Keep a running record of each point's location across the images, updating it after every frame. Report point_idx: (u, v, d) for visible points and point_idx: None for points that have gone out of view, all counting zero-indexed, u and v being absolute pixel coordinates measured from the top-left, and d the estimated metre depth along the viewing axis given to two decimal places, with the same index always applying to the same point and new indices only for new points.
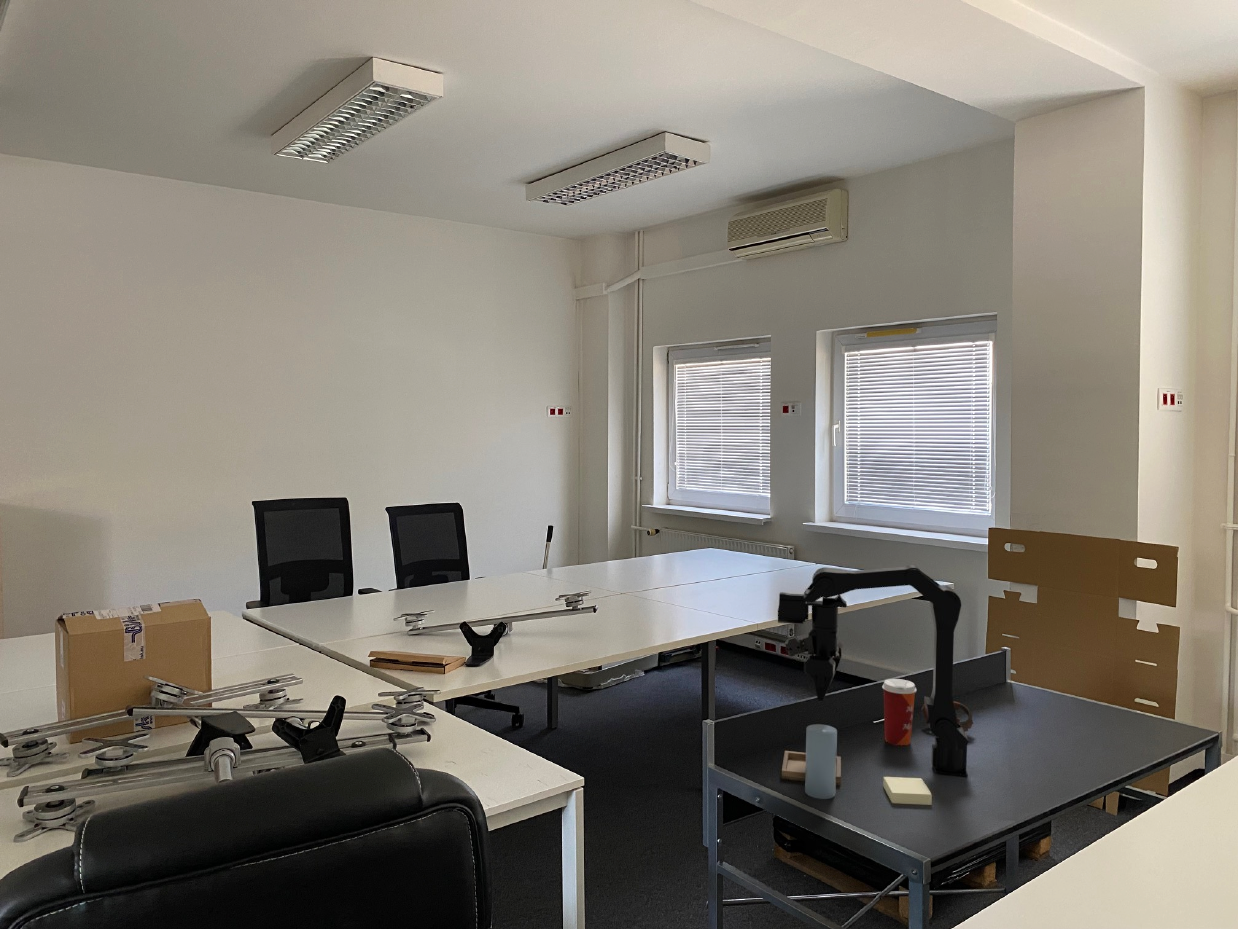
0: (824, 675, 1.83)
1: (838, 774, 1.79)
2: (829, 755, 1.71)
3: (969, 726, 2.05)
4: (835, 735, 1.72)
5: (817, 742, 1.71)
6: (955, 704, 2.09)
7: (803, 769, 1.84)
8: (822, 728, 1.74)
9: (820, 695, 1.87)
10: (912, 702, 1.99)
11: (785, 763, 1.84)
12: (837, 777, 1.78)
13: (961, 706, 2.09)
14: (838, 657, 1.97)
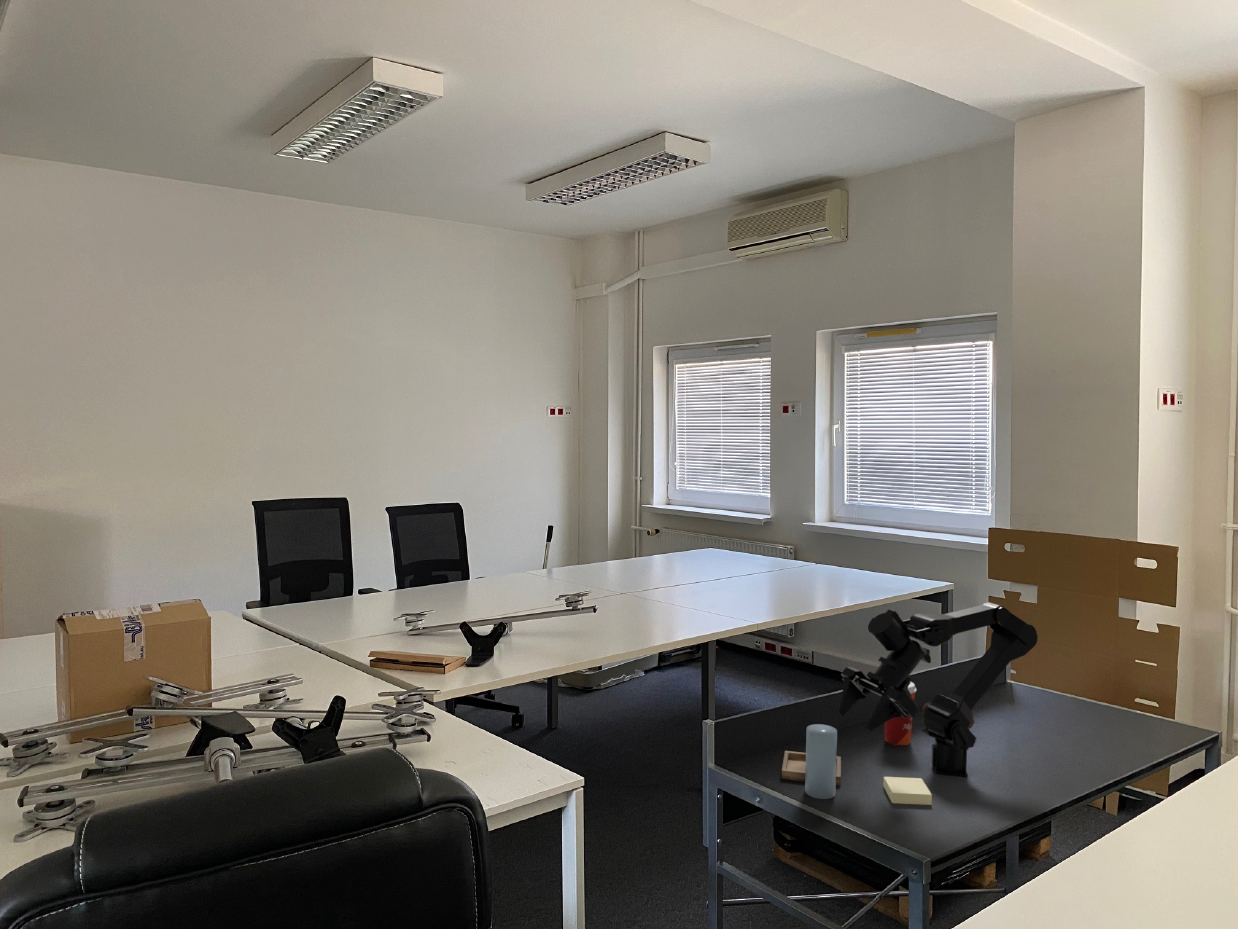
0: None
1: (838, 774, 1.79)
2: (830, 755, 1.71)
3: (970, 725, 2.06)
4: (835, 735, 1.72)
5: (817, 742, 1.71)
6: None
7: (803, 769, 1.84)
8: (822, 728, 1.74)
9: None
10: None
11: (785, 763, 1.84)
12: (837, 777, 1.78)
13: None
14: None
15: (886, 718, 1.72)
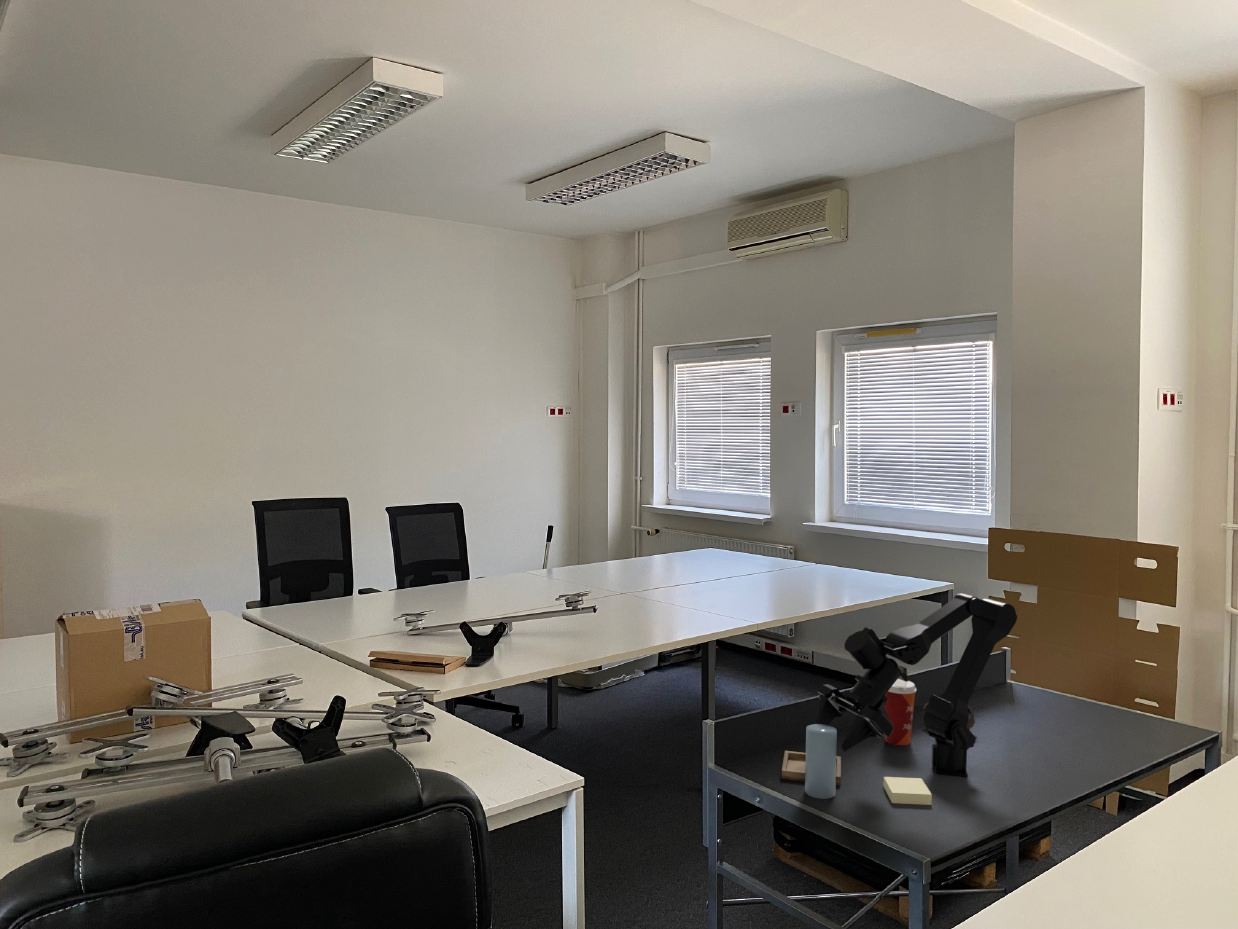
0: None
1: (838, 774, 1.79)
2: (829, 754, 1.71)
3: (971, 725, 2.06)
4: (835, 735, 1.72)
5: (816, 741, 1.71)
6: None
7: (803, 769, 1.84)
8: (821, 727, 1.74)
9: None
10: (912, 702, 1.99)
11: (785, 763, 1.84)
12: (837, 777, 1.78)
13: None
14: None
15: (861, 738, 1.70)
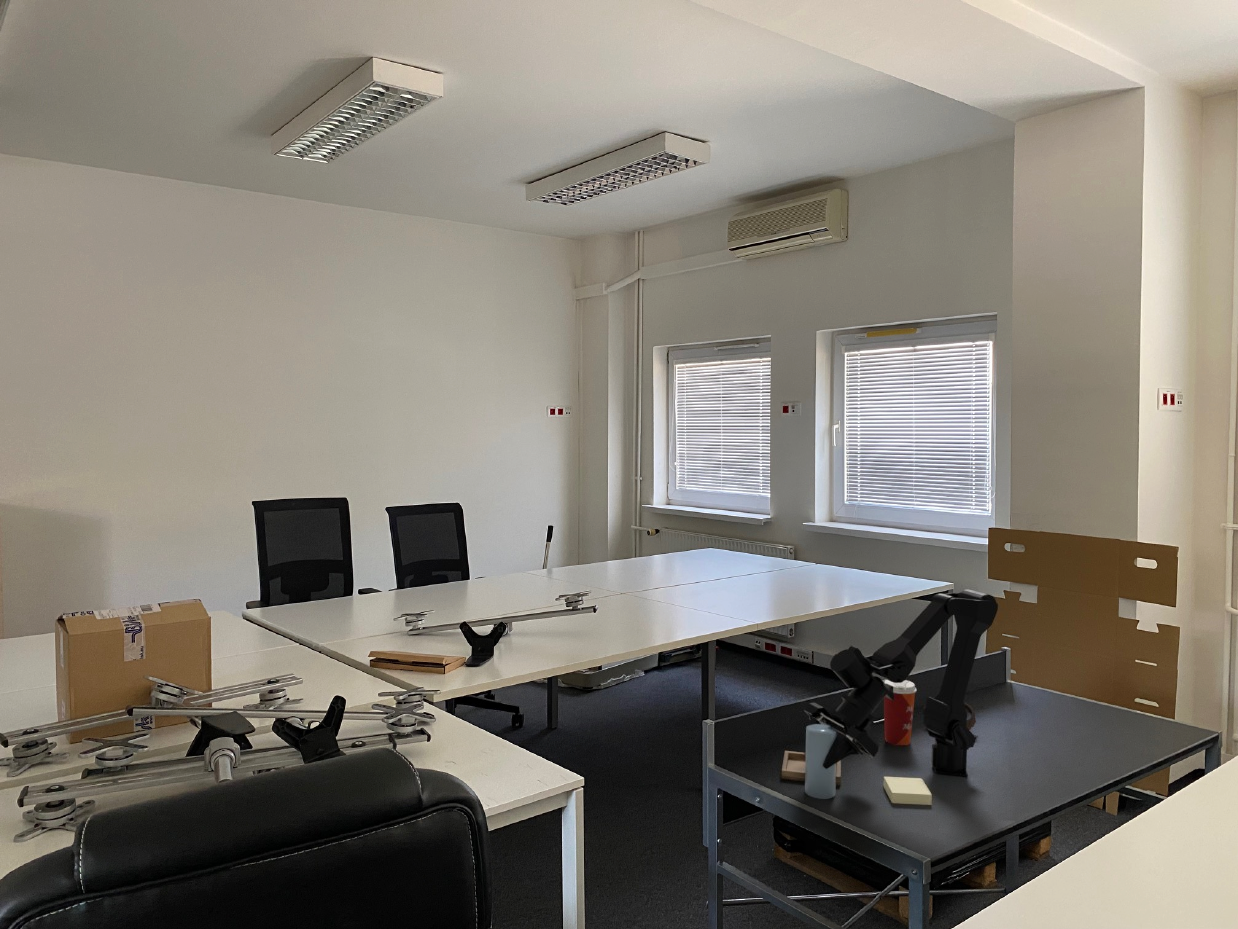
0: None
1: (838, 774, 1.79)
2: None
3: (972, 724, 2.06)
4: (835, 735, 1.72)
5: (816, 742, 1.71)
6: None
7: (803, 769, 1.84)
8: (821, 728, 1.74)
9: None
10: (912, 702, 1.99)
11: (785, 763, 1.84)
12: (837, 777, 1.78)
13: None
14: (845, 736, 1.69)
15: (843, 755, 1.70)
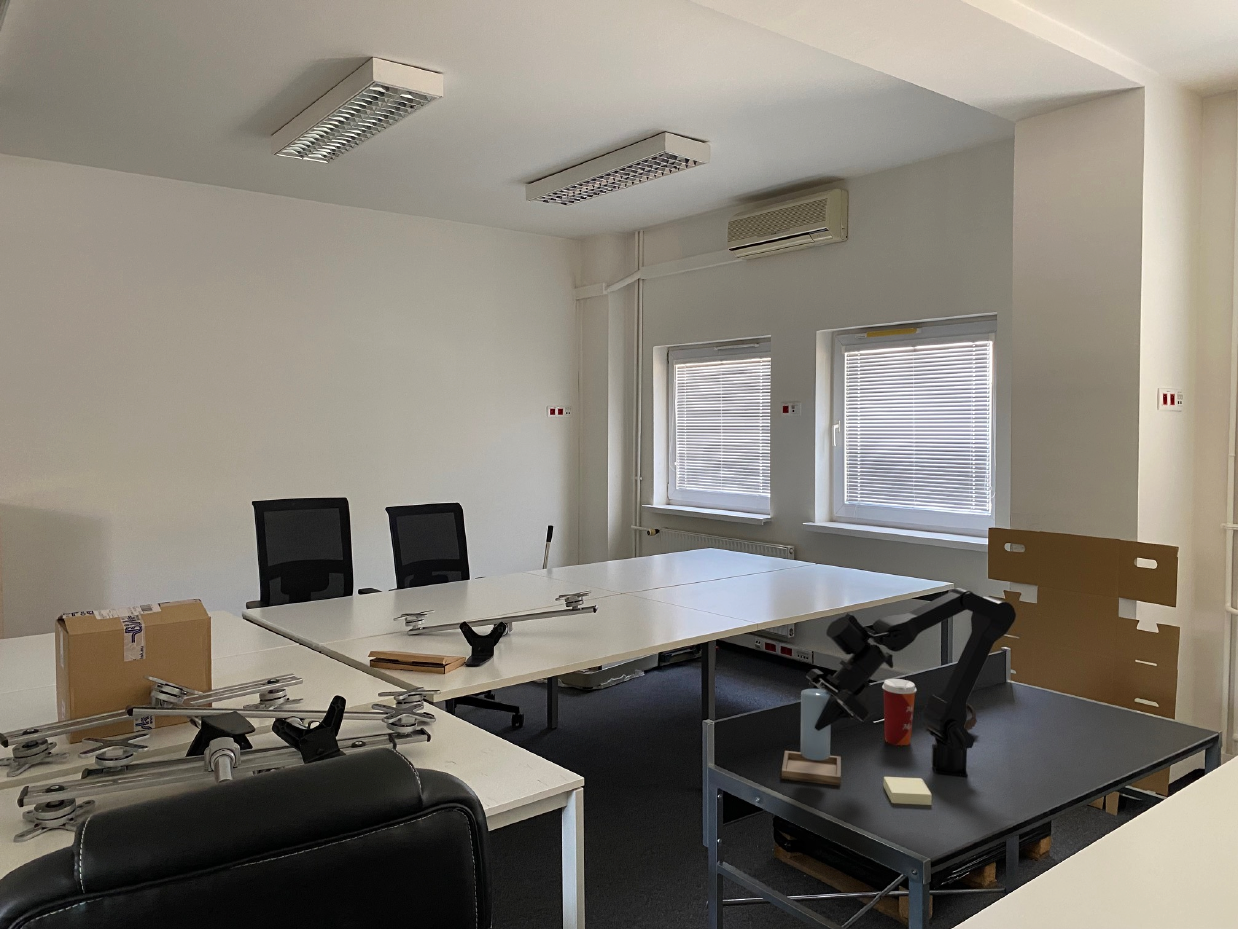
0: None
1: (838, 774, 1.79)
2: None
3: (973, 724, 2.07)
4: None
5: (809, 704, 1.76)
6: None
7: (803, 769, 1.84)
8: (817, 692, 1.79)
9: None
10: (912, 702, 1.99)
11: (785, 763, 1.84)
12: (837, 777, 1.78)
13: None
14: (836, 700, 1.74)
15: (834, 718, 1.75)
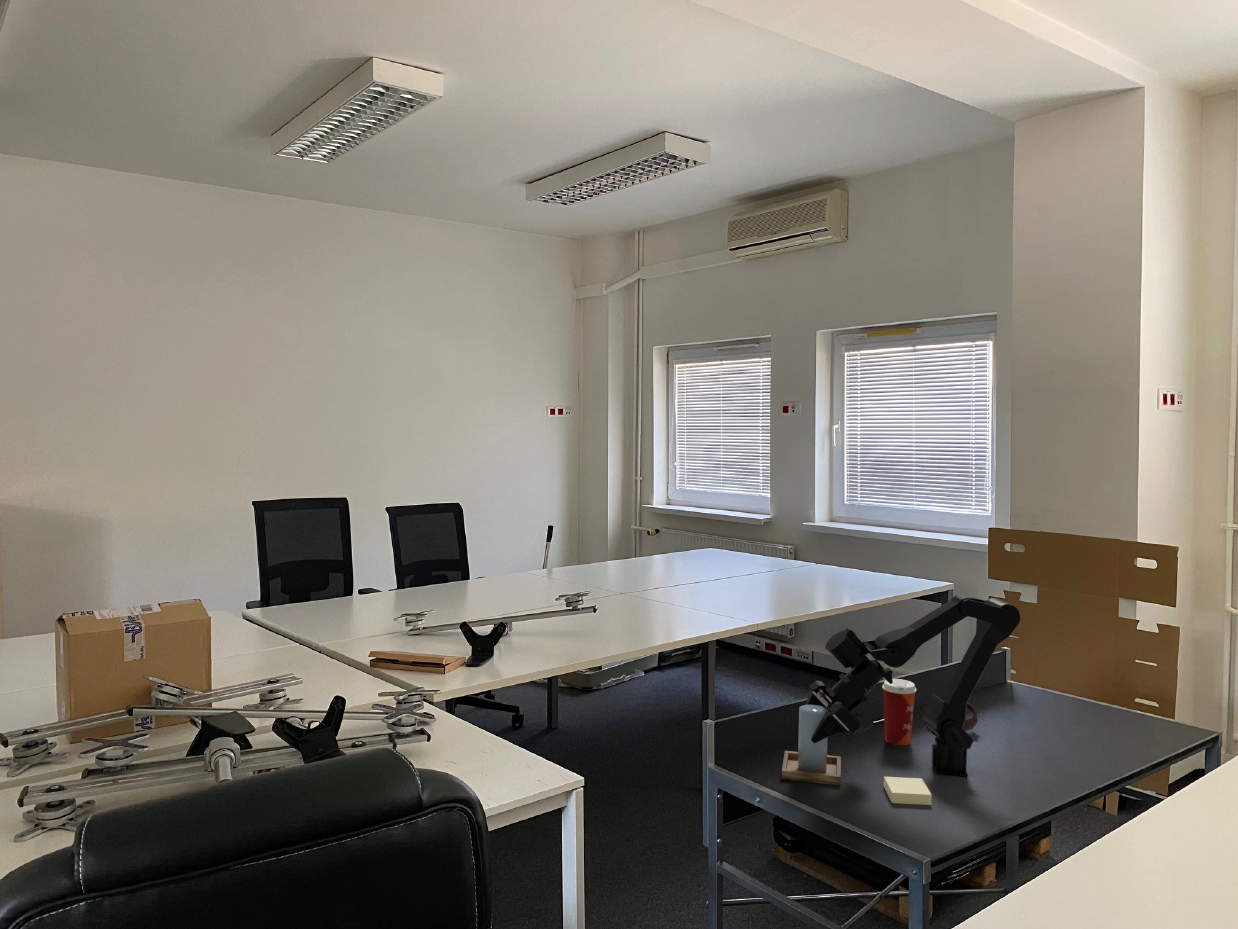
0: None
1: (838, 774, 1.79)
2: None
3: (974, 723, 2.07)
4: None
5: (805, 719, 1.82)
6: None
7: None
8: (815, 708, 1.84)
9: None
10: (912, 702, 1.99)
11: (785, 763, 1.84)
12: (837, 777, 1.78)
13: None
14: (831, 714, 1.77)
15: (830, 732, 1.78)
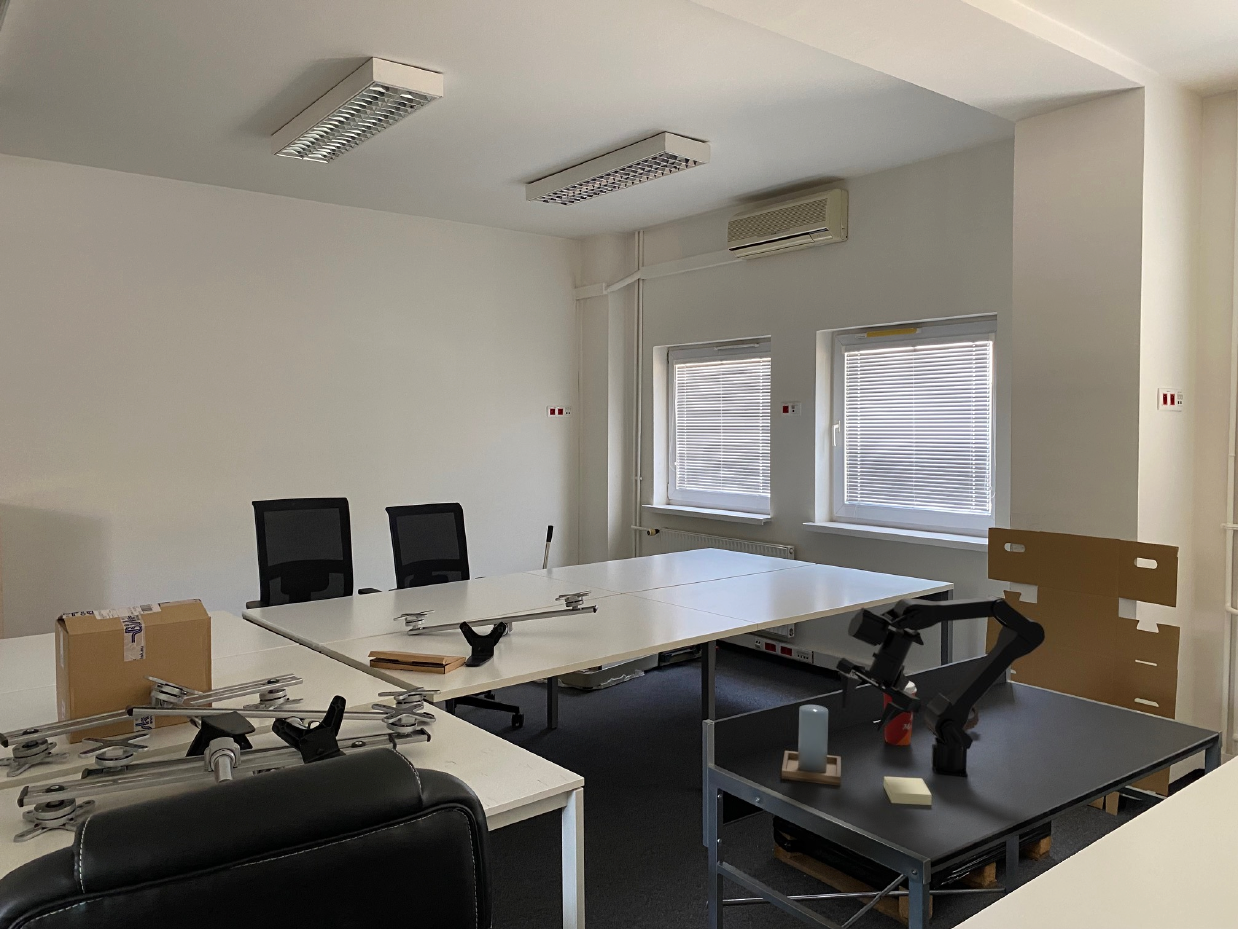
0: None
1: (838, 774, 1.79)
2: (817, 733, 1.81)
3: (975, 723, 2.08)
4: (824, 715, 1.81)
5: (805, 719, 1.82)
6: None
7: None
8: (815, 708, 1.84)
9: None
10: None
11: (785, 763, 1.84)
12: (837, 777, 1.78)
13: None
14: (895, 706, 1.78)
15: (893, 717, 1.81)
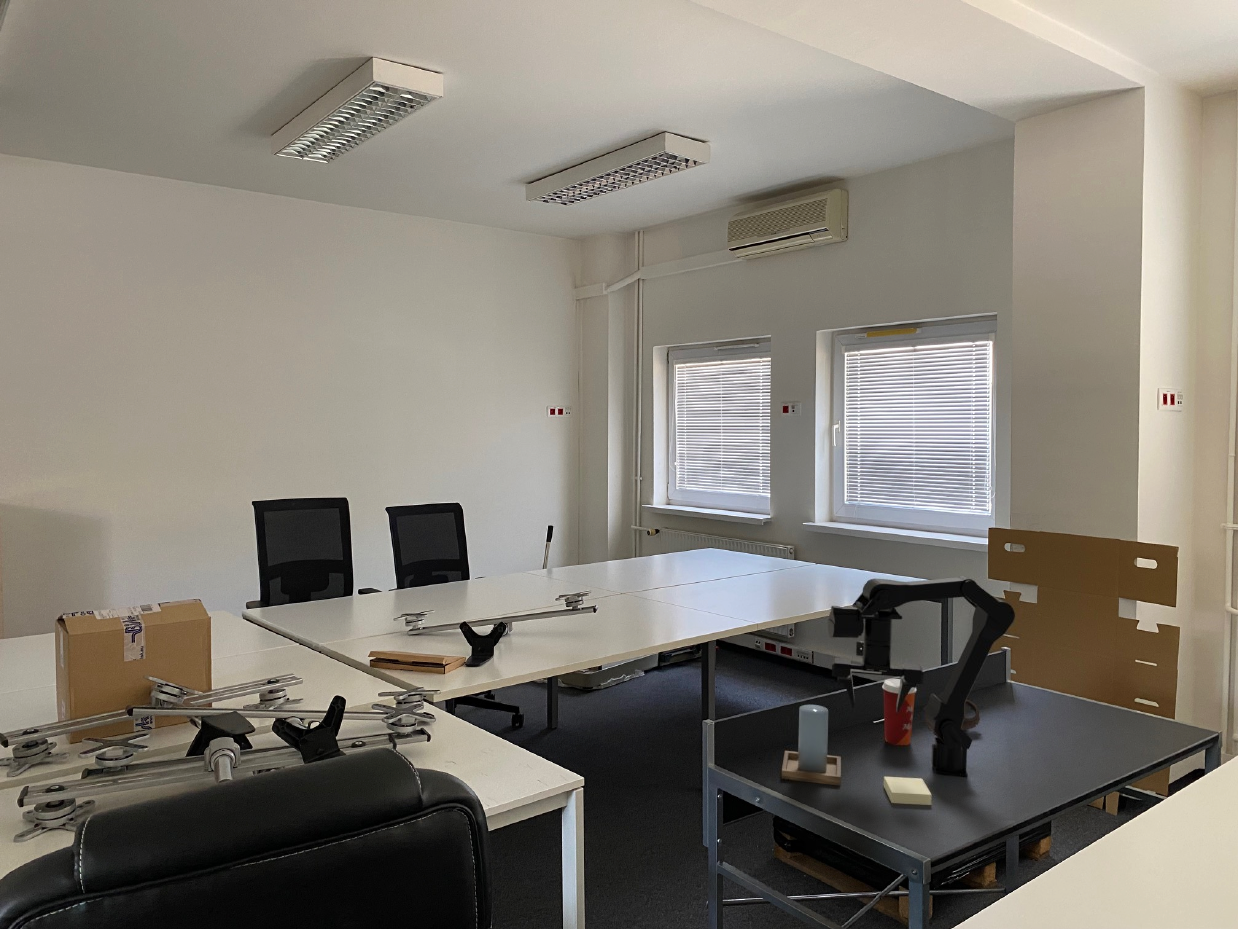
0: (838, 677, 1.86)
1: (838, 774, 1.79)
2: (817, 733, 1.81)
3: (977, 722, 2.08)
4: (824, 715, 1.81)
5: (805, 719, 1.82)
6: None
7: None
8: (815, 708, 1.84)
9: None
10: (912, 702, 1.99)
11: (785, 763, 1.84)
12: (837, 777, 1.78)
13: (968, 702, 2.11)
14: (910, 684, 1.81)
15: None
